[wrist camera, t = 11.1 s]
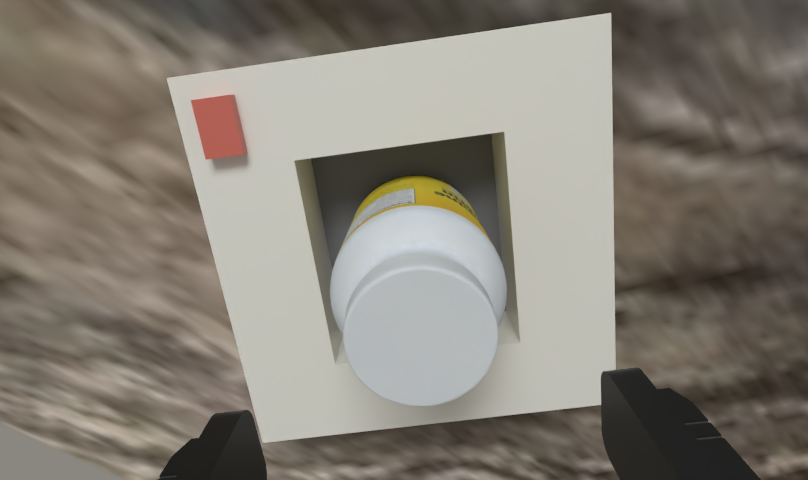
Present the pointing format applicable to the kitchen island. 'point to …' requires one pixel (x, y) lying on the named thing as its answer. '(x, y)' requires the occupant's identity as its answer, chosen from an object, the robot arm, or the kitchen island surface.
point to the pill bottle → (418, 293)
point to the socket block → (402, 155)
